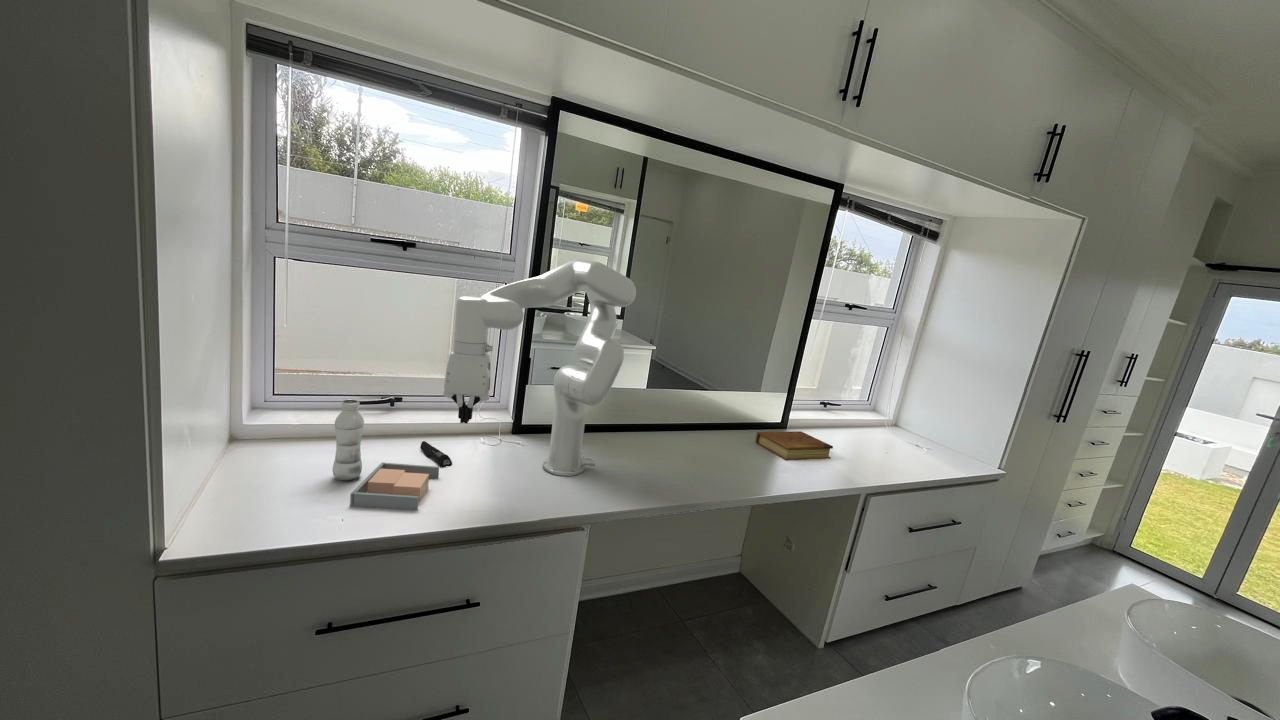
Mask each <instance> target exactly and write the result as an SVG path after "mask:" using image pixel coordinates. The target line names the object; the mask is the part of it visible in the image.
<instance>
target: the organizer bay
mask: <svg viewBox="0 0 1280 720" xmlns="http://www.w3.org/2000/svg"><path fill="white" fill-rule="evenodd" d="M379 469H396V470H406V471H405V472H406V473H422V474H429V479H439V475H440V467H439V466H435V465H421V464H411V463H410V464H407V463H393V462H381V463H380V464H378V466H377V467H375V469H373V470H372V471H371V473H369V475H368V476H366V478H364V480H362V482H360V483H359V484H358V485H357V487H355V489H353V490H352V491H351V492H350V496H349V498H350V500H349V507H362V508H378V509H379V508H381V509H396V510H397V509H399V510H410V511H411V510H413V511H417V510H418V509H419V502H418V500H419V496H407V495H391V494H376V493H367V490H368V481H369V480H370V479H371V478H372V477H373V476H374V475H375V474H376V473H377V471H378V470H379Z"/></svg>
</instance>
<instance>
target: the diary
mask: <svg viewBox="0 0 1280 720" xmlns="http://www.w3.org/2000/svg"><path fill="white" fill-rule="evenodd" d="M755 444H756V445H757V446H760V447H761V448H763V449H764V450H766V451H768V452H770V453H772V454H774V455H775V456H777V457H779V458H780V459H782V460H784V461H805V460H806V461H807V460H808V461H809V460H827V459H829V460H830V459H831V458H832V457H831V456H830V451H831V450H833V449H834V446H833V445H831V444H829V443H827V442H824V441H823V440H820V439H818V438H816V437H814V436H812V435H810V434H808V433H806V432H803V431H801V430H800V431H757V433H756V435H755Z"/></svg>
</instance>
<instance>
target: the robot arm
mask: <svg viewBox="0 0 1280 720" xmlns="http://www.w3.org/2000/svg"><path fill="white" fill-rule="evenodd" d="M580 292H586V296H587V299H588V302H589V307H590V308H589V311H590V312H589V317H588V320H587V321H586V324H585V326H584V328H583V330H582V332H581V334H580V336H579V337H578V340H577V342H576V344H575V347H574V350H573V356H574V358H575V360H577V362H579V363H581V364H583V365H587V366H588V367H591V368H590V369H587V368H584V367H581V366H578V365H575V364H568V365H563V366H561V367H559V369H558V370H557V372H555V375H554V378H553V391H554V392H553V395H554V408H553V416H552V417H553V418H552V426H551V433H550V445H549V451H548V452H549V453H548V458H546V459H544V461H543V462H542V468H543V470H544V471H546V472H547V473H549V474H552V475H556V476H560V477H561V476H564V477H572V476H577V475H580V474H581V473H582V474H583V472H584V471H585V467H586V466H589V467H596V459H592V457H591V456H583V452H582V450H583V440H584V433H585V425H586V416H587V408H586V405H587V406H590V407H595V406H598V405H600V404H602V403H603V402H604V400H605V399H606V398H607V397H608V395H609V392H610V391H611V389H612V386H613V384H614V382H615V381H616V378H617V376H618V373H619V372H620V370H621V367H622V365H623V362H624V357H625V354H624V348H623V347H624V346H623V345H622V344H621V342H619V340H616V339H614V338H612V336H613V334H614V332H615V330H616V327H617V321H618V320H617V314H616V309H615V307H618V308H625V307H629V306H630V305H631V304H632V303H633V302H634V301H635V300H636V296H637V288H636V286H635V283H634V282H633V280H631V279H630V278H629V277H627V276H626V275H624V274H622V273H620V272H618V271H617V270H615V269H613V268H611V267H609V266H608V265H606V264H604V263H601V262H598V261H596V260H595V261H593V260H586V259H573V260H570V261H568V262H565V263H564V264H561V265H559V266H557V267H555V268H553V269H550V270H549V271H547V272H545V273H542V274H540V275H538V276H534V277H530V278H525V279H523V280H518V281H516V282H512V283H509V284H506V285H505V284H504V285H503V286H502V285H501V286H500V287H497V288H495V289H493V290H490V291H489V292H487V293H485V294H483V295H481V296H480V297H478V296H470V295H467V296H466V295H463V296H460V297H458V298H457V299H456V304H455V320H454V334H453V335H454V336H453V348H452V349H453V350H452V351H450V353H449V356H448V361H447V365H446V369H445V370H446V371H445V375H444V377H445V378H444V391H443V394H442V396H443V397H444V398H447V399H450V400H453V401H454V402H455V403H456V405H457V407H458V415H457V417H458V419H459V420H460V421H459V423H460V424H468V423H469V422H470V420H472V419H473V408H474V406H475V405H477V404H478V403H479V402H487V401H489V400H490V398H491V397H490V393H489V391H490V388H491V377H492V375H491V371H492V369H491V356H490V354H488V352H493V350H494V347H493V345H489V343H488V334H489V328H490V329H497V330H502V331H503V330H504V331H510V330H514V329H517V327H519V326H520V325H521V324H522V323H523V321H524V315H525V314H524V309H529V308H530V309H531V308H533V309H534V308H545V307H546V308H547V307H551V306H555V305H556V304H558V303H560V302H562V301H563V300H566V299H567V298H569V297H571V296H573V295H575V294H577V293H580ZM465 396H467V397H468V396H469V398H468V402H467V404H466V399H465Z"/></svg>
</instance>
